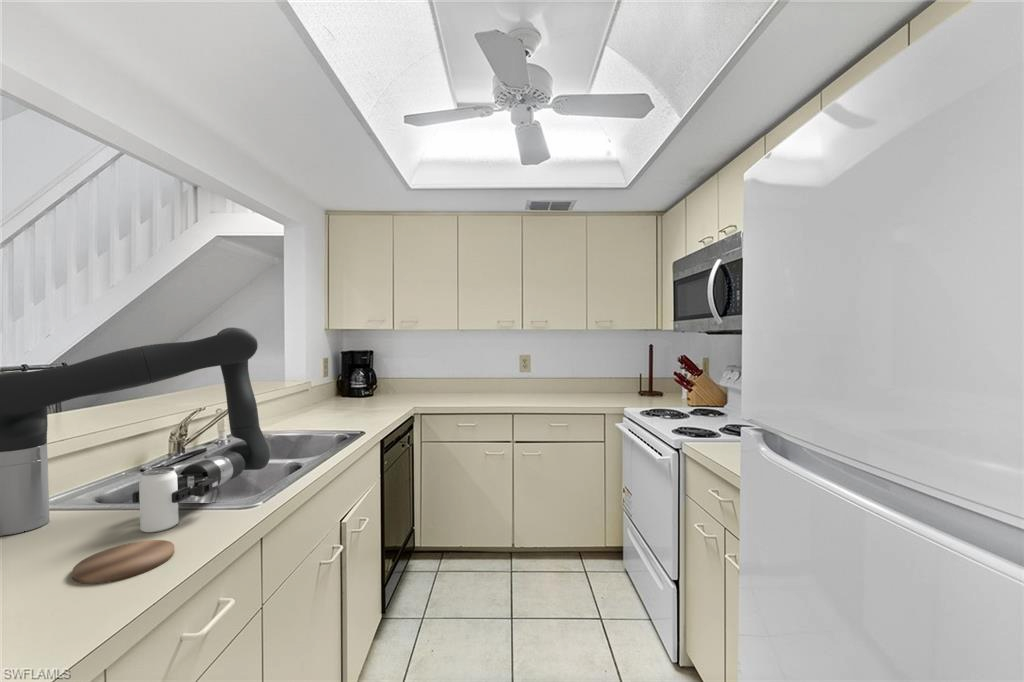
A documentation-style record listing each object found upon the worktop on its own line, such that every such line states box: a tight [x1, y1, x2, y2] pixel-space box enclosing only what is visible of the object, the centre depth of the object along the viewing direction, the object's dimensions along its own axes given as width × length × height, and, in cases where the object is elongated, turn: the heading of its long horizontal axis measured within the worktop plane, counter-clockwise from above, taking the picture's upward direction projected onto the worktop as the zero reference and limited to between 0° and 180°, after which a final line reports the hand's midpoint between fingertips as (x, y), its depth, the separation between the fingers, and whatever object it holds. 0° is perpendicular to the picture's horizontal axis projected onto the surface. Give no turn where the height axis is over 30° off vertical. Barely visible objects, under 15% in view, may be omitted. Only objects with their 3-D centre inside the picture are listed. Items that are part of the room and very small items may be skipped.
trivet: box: [71, 539, 175, 584], centre depth 84 cm, size 14×14×1 cm
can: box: [138, 466, 179, 534], centre depth 100 cm, size 6×6×12 cm
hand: (153, 498), depth 98 cm, fingers open, 8 cm apart
